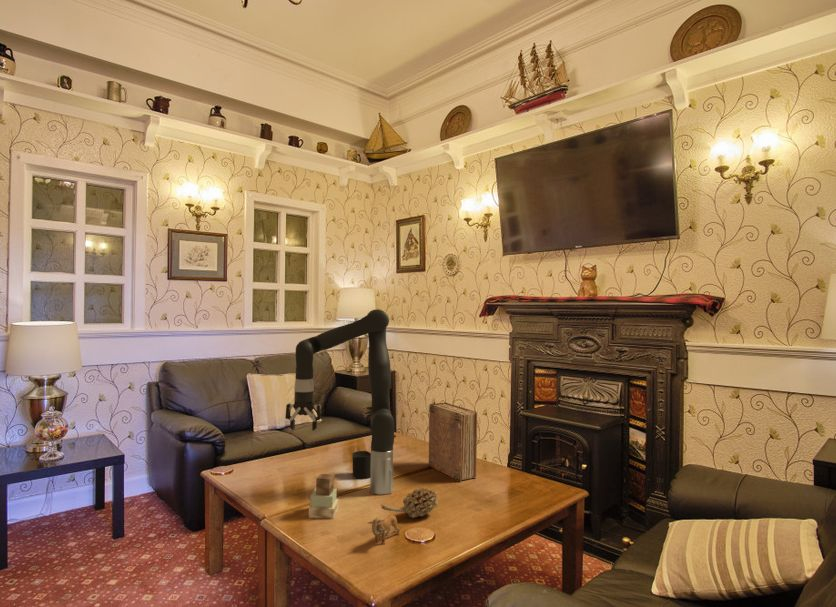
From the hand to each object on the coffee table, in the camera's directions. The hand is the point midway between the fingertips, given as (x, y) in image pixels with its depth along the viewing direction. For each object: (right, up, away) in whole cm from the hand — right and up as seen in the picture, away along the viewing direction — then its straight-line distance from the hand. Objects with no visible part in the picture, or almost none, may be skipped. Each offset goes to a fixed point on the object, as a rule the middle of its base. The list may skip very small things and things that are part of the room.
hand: (303, 429), depth 202 cm
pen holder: (+21, -27, +23) cm, 41 cm away
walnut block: (+12, -19, -18) cm, 28 cm away
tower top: (+11, -23, -17) cm, 31 cm away
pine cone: (+43, -27, -20) cm, 55 cm away
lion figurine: (+36, -27, -38) cm, 59 cm away
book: (+62, -28, +30) cm, 74 cm away
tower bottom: (+12, -27, -18) cm, 34 cm away
